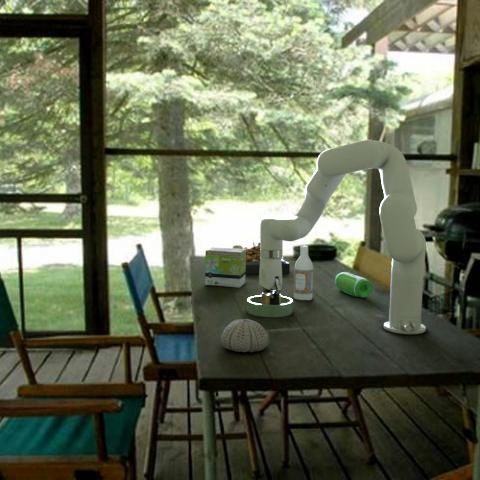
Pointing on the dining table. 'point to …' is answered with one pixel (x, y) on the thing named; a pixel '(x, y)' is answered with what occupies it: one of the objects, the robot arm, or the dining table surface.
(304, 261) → the bath foam
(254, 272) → the food platter
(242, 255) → the tea box
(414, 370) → the dining table surface
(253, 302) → the bowl
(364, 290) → the speaker
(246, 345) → the sea urchin shell
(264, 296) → the maple cube
